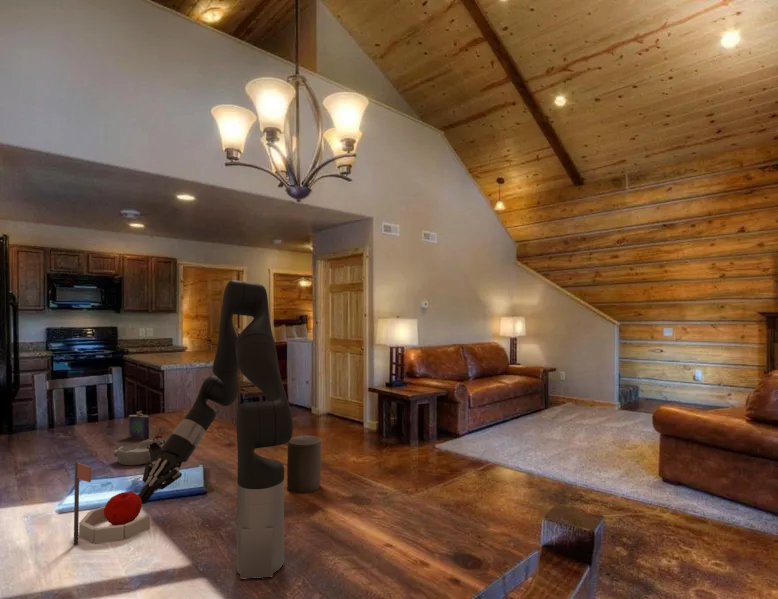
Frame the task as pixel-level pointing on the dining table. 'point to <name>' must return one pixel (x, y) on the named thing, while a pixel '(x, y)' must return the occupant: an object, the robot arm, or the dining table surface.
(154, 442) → the sundae
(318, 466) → the pillar candle
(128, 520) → the apple
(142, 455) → the dish
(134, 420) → the flask
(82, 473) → the cup
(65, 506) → the dining table surface
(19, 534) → the dining table surface
